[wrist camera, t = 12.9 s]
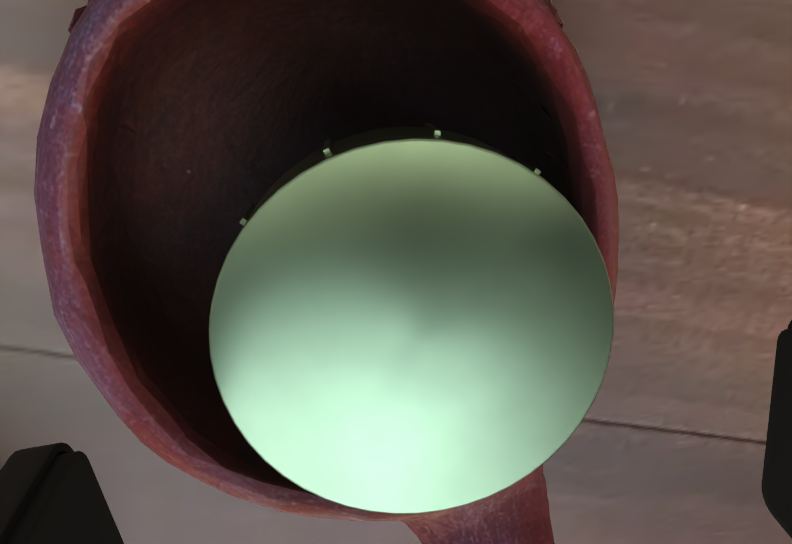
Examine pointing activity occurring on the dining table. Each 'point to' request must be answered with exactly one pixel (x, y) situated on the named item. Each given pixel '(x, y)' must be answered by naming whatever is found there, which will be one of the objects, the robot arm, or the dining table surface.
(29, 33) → the dining table surface
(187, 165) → the bowl
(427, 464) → the jar lid
